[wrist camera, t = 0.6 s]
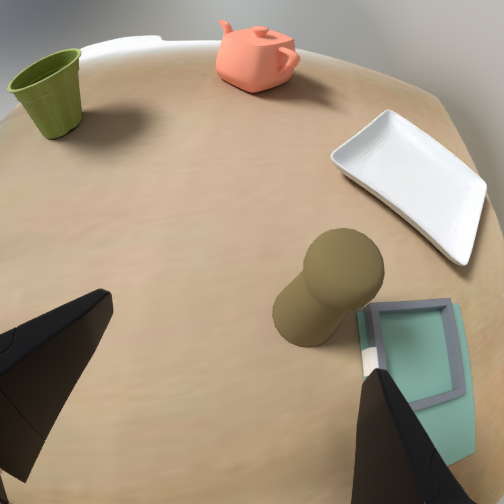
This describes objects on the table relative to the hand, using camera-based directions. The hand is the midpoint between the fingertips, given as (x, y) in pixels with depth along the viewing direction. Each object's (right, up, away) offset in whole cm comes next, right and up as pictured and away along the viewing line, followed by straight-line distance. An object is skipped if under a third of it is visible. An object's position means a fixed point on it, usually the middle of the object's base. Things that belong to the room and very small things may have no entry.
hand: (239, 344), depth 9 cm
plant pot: (-29, +23, +27) cm, 46 cm away
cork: (+5, -3, +17) cm, 18 cm away
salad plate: (+24, +12, +28) cm, 39 cm away
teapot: (0, +33, +37) cm, 49 cm away
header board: (+17, -11, +14) cm, 25 cm away
